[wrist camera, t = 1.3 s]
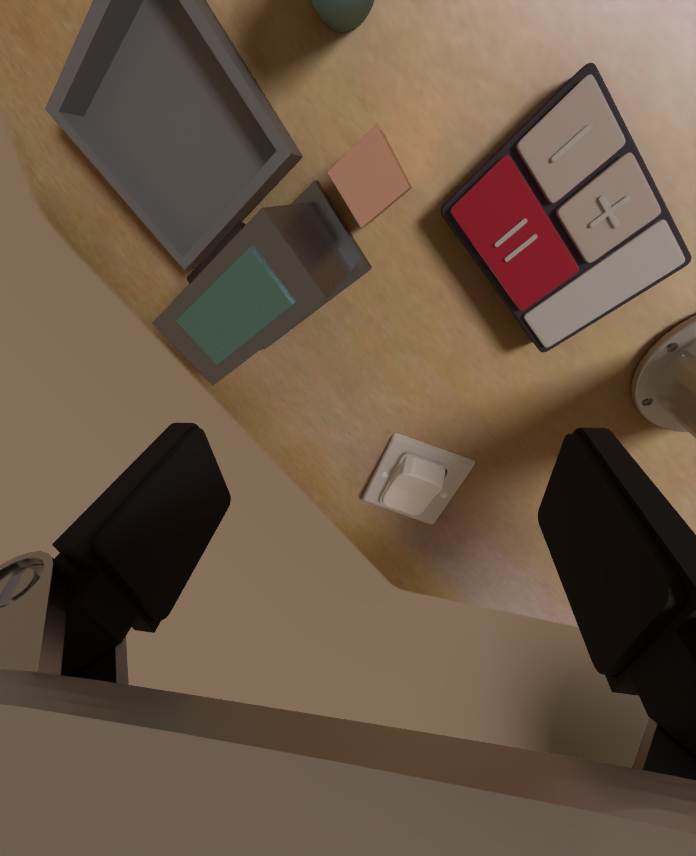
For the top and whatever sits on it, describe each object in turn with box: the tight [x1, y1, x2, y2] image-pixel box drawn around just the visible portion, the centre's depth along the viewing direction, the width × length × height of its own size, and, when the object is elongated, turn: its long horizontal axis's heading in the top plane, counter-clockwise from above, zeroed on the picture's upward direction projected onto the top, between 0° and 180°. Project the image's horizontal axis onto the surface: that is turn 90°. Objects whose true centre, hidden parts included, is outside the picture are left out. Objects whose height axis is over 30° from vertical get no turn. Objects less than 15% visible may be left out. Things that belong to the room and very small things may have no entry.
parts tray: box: [45, 0, 303, 271], centre depth 27 cm, size 14×14×3 cm
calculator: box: [441, 63, 691, 352], centre depth 26 cm, size 11×4×15 cm
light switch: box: [362, 433, 475, 525], centre depth 44 cm, size 11×4×13 cm
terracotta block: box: [327, 124, 412, 228], centre depth 25 cm, size 4×4×6 cm
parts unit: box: [153, 181, 372, 385], centre depth 28 cm, size 14×8×12 cm, turn 127°
